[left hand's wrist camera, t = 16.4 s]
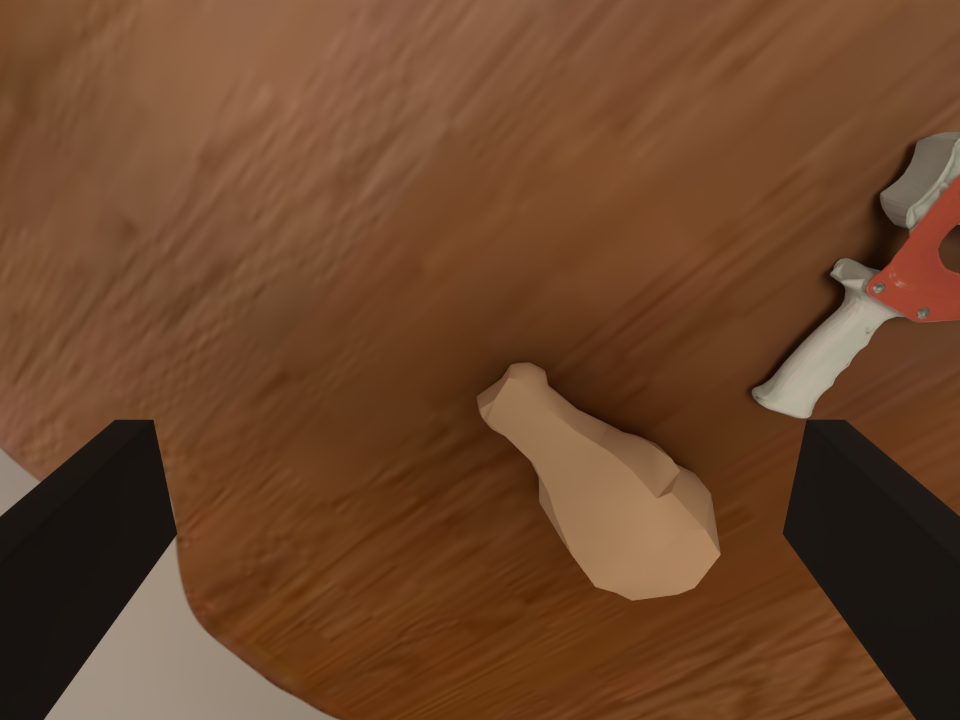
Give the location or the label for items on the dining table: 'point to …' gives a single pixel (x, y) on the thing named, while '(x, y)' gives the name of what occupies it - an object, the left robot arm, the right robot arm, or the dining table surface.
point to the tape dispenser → (883, 280)
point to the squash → (607, 490)
